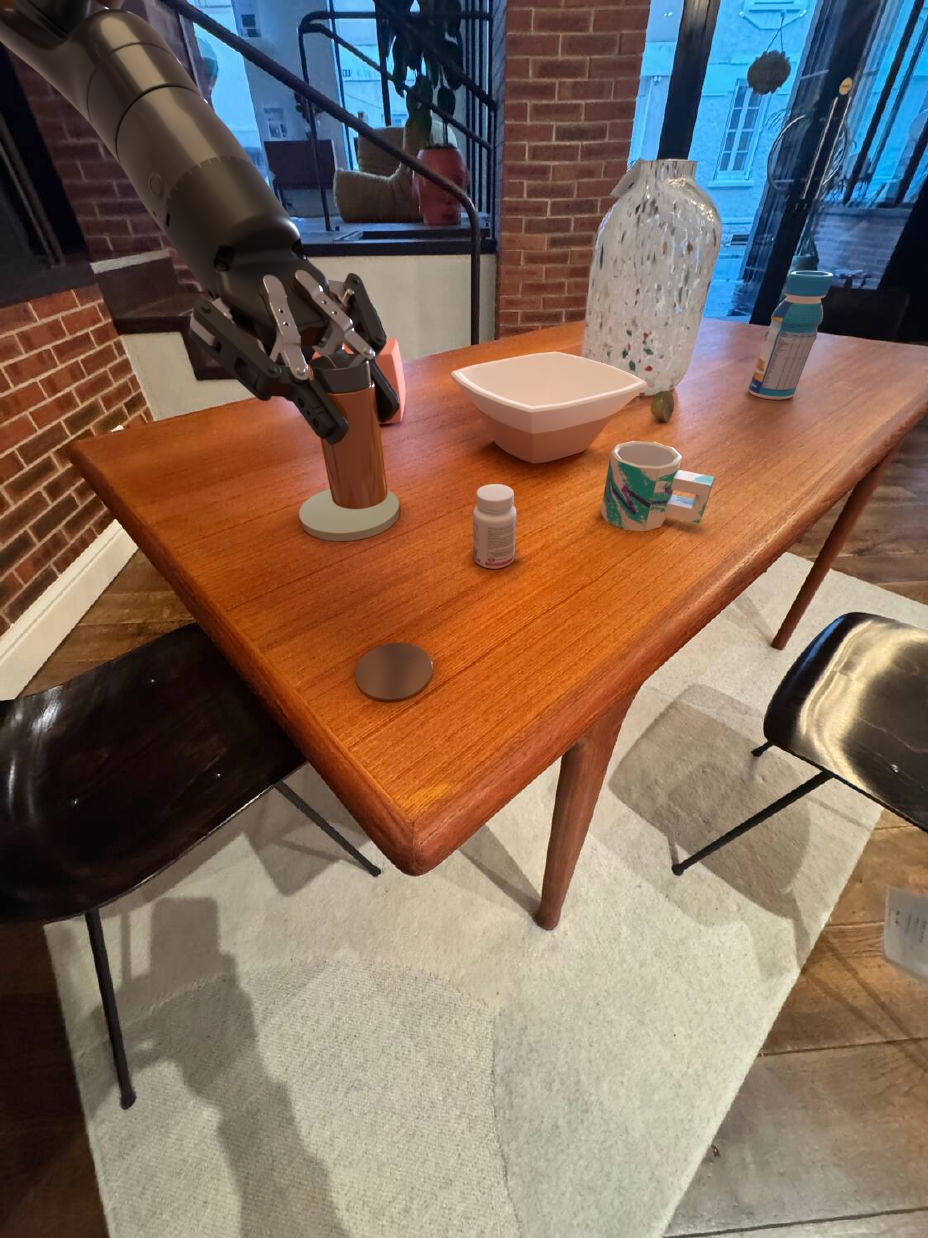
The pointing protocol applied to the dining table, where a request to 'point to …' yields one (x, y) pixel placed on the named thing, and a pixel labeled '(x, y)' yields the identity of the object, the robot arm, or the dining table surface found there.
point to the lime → (662, 405)
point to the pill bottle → (494, 526)
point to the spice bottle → (353, 432)
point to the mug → (651, 487)
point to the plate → (346, 518)
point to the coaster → (393, 672)
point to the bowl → (546, 401)
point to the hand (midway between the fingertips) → (366, 425)
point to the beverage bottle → (790, 336)
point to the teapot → (388, 372)
